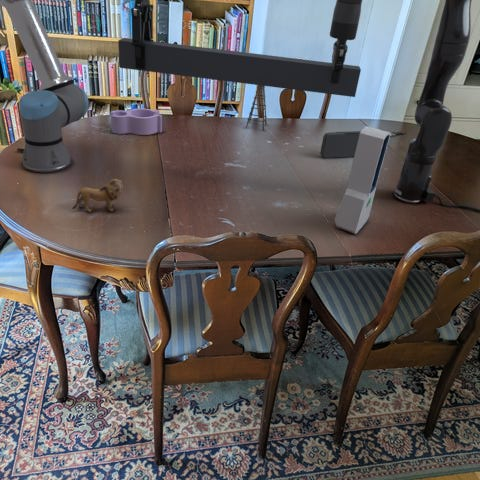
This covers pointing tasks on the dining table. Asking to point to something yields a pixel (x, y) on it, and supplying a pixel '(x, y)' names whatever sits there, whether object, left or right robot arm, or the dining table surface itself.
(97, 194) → the lion figurine
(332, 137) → the handheld gaming console
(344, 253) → the dining table surface
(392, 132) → the sword
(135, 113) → the purple lobed container
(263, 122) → the miniature windmill
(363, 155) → the electronic device
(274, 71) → the bar
